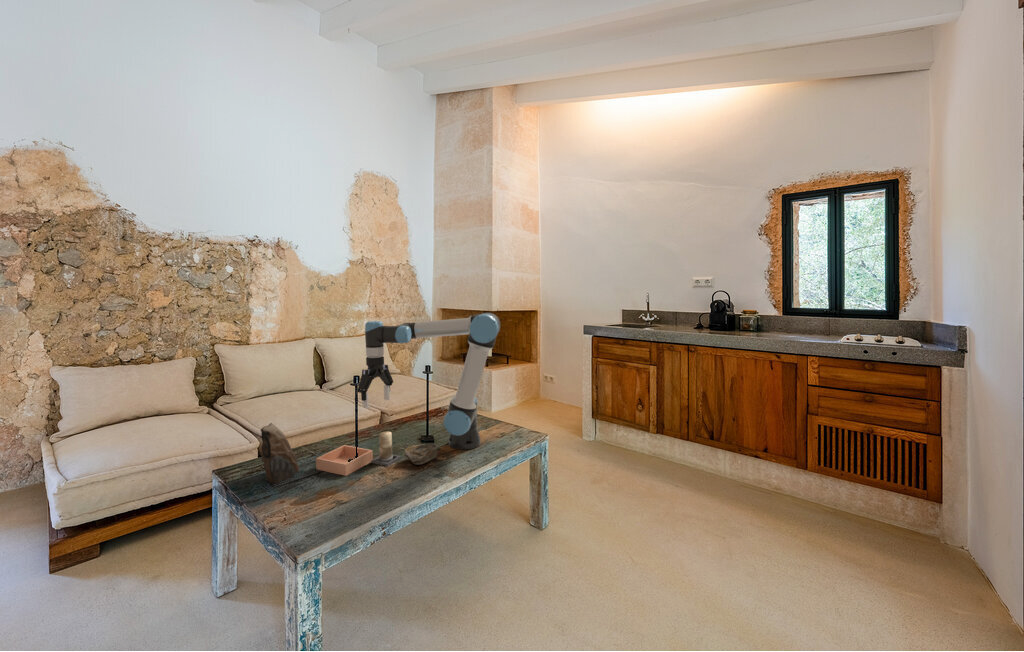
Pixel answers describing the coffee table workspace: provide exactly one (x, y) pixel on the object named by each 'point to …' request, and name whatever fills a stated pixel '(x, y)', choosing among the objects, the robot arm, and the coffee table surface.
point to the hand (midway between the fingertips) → (376, 403)
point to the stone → (421, 453)
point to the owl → (277, 455)
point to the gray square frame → (385, 462)
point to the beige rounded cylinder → (385, 447)
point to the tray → (344, 460)
